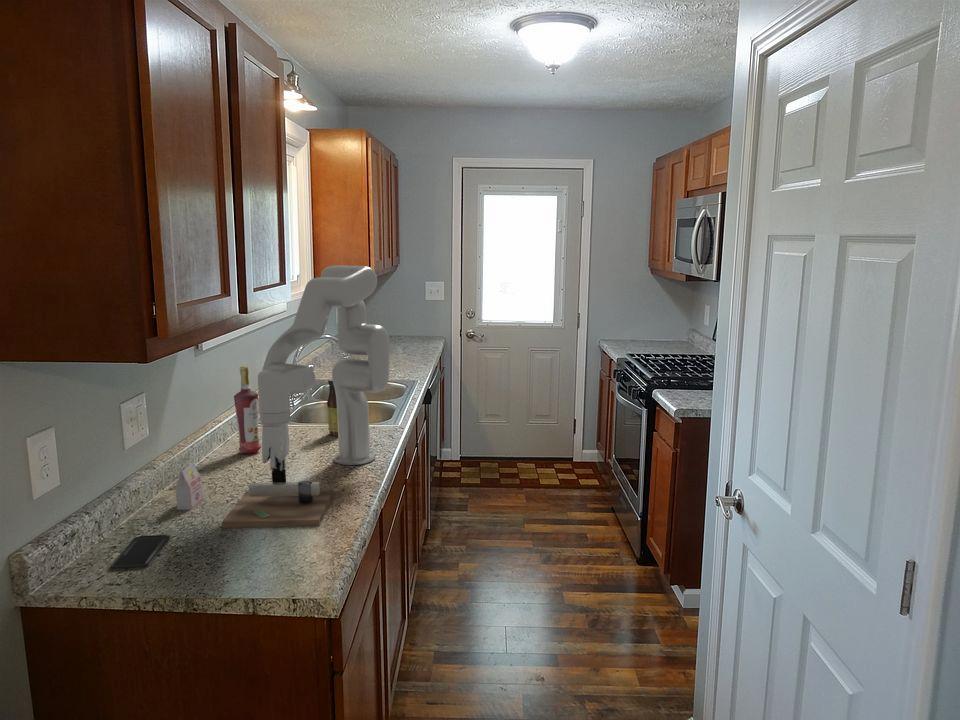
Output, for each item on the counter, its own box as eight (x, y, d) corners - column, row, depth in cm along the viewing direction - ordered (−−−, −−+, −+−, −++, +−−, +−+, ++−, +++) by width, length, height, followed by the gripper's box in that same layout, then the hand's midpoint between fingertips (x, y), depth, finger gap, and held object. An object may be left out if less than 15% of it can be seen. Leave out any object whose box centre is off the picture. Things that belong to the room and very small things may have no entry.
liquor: (251, 456, 215) (245, 370, 210) (233, 454, 218) (226, 368, 213) (266, 450, 222) (261, 365, 217) (248, 447, 224) (242, 364, 219)
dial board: (248, 494, 183) (247, 488, 183) (334, 493, 184) (334, 487, 184) (222, 527, 163) (221, 521, 162) (319, 525, 163) (318, 518, 163)
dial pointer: (321, 497, 176) (320, 480, 175) (318, 502, 173) (317, 485, 172) (252, 498, 175) (251, 481, 175) (248, 504, 172) (247, 486, 171)
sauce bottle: (339, 430, 244) (336, 376, 240) (350, 433, 240) (348, 378, 236) (324, 434, 239) (321, 379, 235) (336, 437, 235) (333, 381, 231)
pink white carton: (177, 509, 174) (173, 472, 172) (189, 499, 180) (186, 463, 179) (191, 509, 174) (187, 472, 172) (203, 499, 180) (200, 463, 178)
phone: (170, 534, 157) (147, 565, 143) (171, 539, 158) (147, 569, 143) (135, 536, 157) (107, 567, 142) (135, 540, 157) (108, 572, 142)
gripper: (268, 410, 183) (272, 475, 186) (252, 425, 168) (256, 495, 172) (296, 409, 183) (300, 474, 187) (282, 424, 169) (286, 494, 172)
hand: (279, 484), depth 179 cm, fingers closed
